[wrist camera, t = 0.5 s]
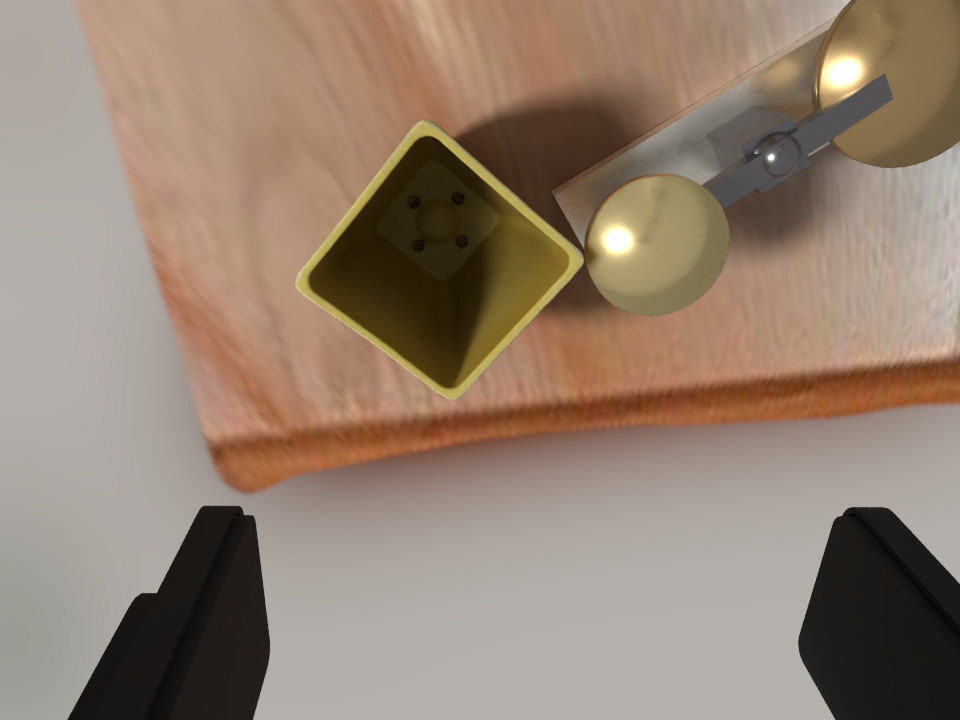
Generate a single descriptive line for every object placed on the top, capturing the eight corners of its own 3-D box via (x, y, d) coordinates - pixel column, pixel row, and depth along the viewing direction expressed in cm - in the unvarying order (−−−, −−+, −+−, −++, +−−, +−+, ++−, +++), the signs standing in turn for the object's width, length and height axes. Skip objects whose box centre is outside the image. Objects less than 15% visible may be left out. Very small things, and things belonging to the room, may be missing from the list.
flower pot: (558, 212, 37) (591, 261, 29) (451, 331, 40) (453, 407, 32) (428, 95, 35) (423, 113, 26) (322, 230, 37) (287, 285, 29)
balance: (904, -63, 33) (1040, -92, 25) (951, 95, 36) (1085, 110, 28) (528, 170, 36) (550, 205, 29) (599, 296, 39) (636, 357, 32)
